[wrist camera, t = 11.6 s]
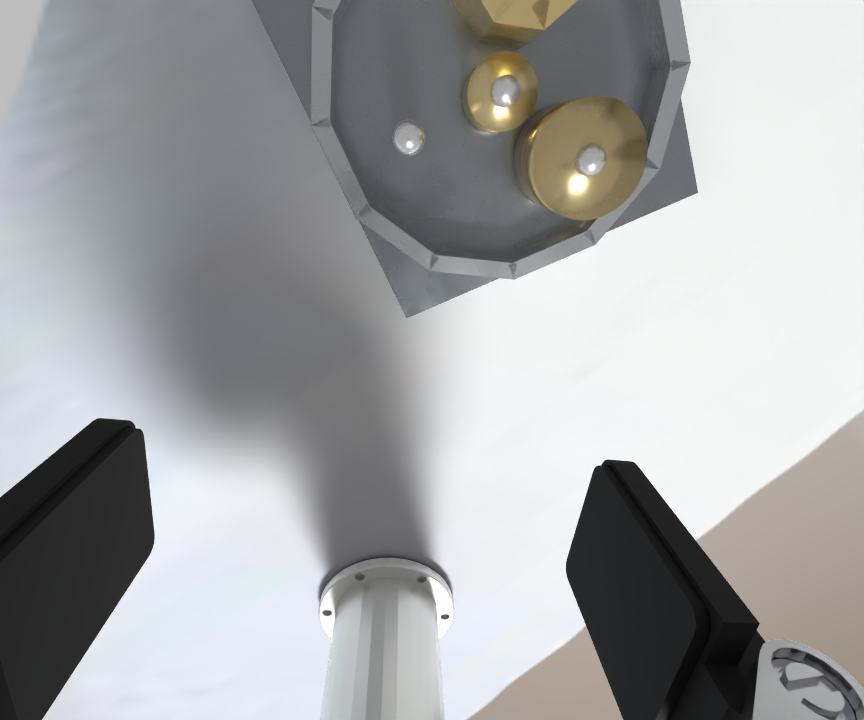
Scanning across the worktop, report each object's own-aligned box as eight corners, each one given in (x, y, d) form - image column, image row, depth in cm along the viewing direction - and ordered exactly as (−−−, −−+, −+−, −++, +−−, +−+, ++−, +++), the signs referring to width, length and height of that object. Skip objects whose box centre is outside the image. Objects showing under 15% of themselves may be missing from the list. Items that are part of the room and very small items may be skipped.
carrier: (685, 190, 31) (759, 204, 25) (406, 310, 34) (406, 352, 27) (608, -208, 23) (689, -345, 17) (250, -12, 26) (197, -64, 19)
